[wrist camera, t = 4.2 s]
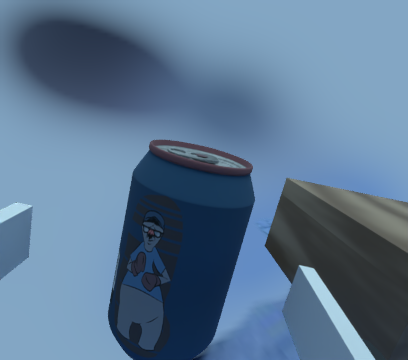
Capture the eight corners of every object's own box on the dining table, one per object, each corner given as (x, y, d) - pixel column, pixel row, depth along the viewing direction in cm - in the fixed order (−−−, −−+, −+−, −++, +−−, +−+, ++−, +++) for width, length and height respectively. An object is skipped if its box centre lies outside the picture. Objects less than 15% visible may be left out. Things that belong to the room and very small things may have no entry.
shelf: (383, 263, 37) (410, 203, 35) (571, 400, 20) (646, 300, 18) (264, 245, 34) (286, 177, 31) (370, 395, 17) (434, 269, 14)
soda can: (204, 297, 22) (244, 153, 19) (220, 383, 15) (286, 182, 12) (116, 287, 20) (144, 131, 17) (91, 377, 14) (129, 149, 11)
